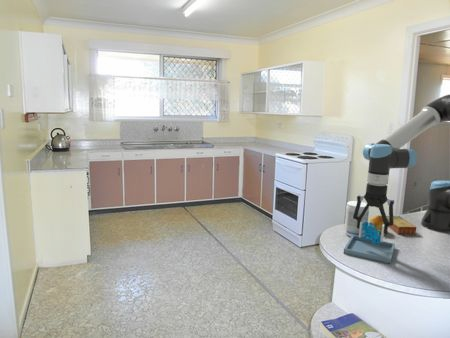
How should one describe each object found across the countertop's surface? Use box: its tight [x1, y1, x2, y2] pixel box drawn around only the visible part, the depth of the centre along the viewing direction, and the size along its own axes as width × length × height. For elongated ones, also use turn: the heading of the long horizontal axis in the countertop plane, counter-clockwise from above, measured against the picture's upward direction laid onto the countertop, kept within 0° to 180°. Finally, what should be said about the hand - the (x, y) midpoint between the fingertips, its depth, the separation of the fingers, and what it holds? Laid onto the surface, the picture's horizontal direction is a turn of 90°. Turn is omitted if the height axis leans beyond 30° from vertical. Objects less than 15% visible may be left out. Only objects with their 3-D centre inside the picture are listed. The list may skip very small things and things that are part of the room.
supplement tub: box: [344, 200, 370, 238], centre depth 160 cm, size 10×10×15 cm
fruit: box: [368, 215, 384, 234], centre depth 166 cm, size 8×8×8 cm
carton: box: [386, 215, 417, 236], centre depth 171 cm, size 8×16×4 cm, turn 1°
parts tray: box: [343, 235, 396, 265], centre depth 145 cm, size 17×17×2 cm
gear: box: [362, 221, 381, 245], centre depth 145 cm, size 11×6×10 cm
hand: (370, 238), depth 144 cm, fingers closed on gear, 7 cm apart
